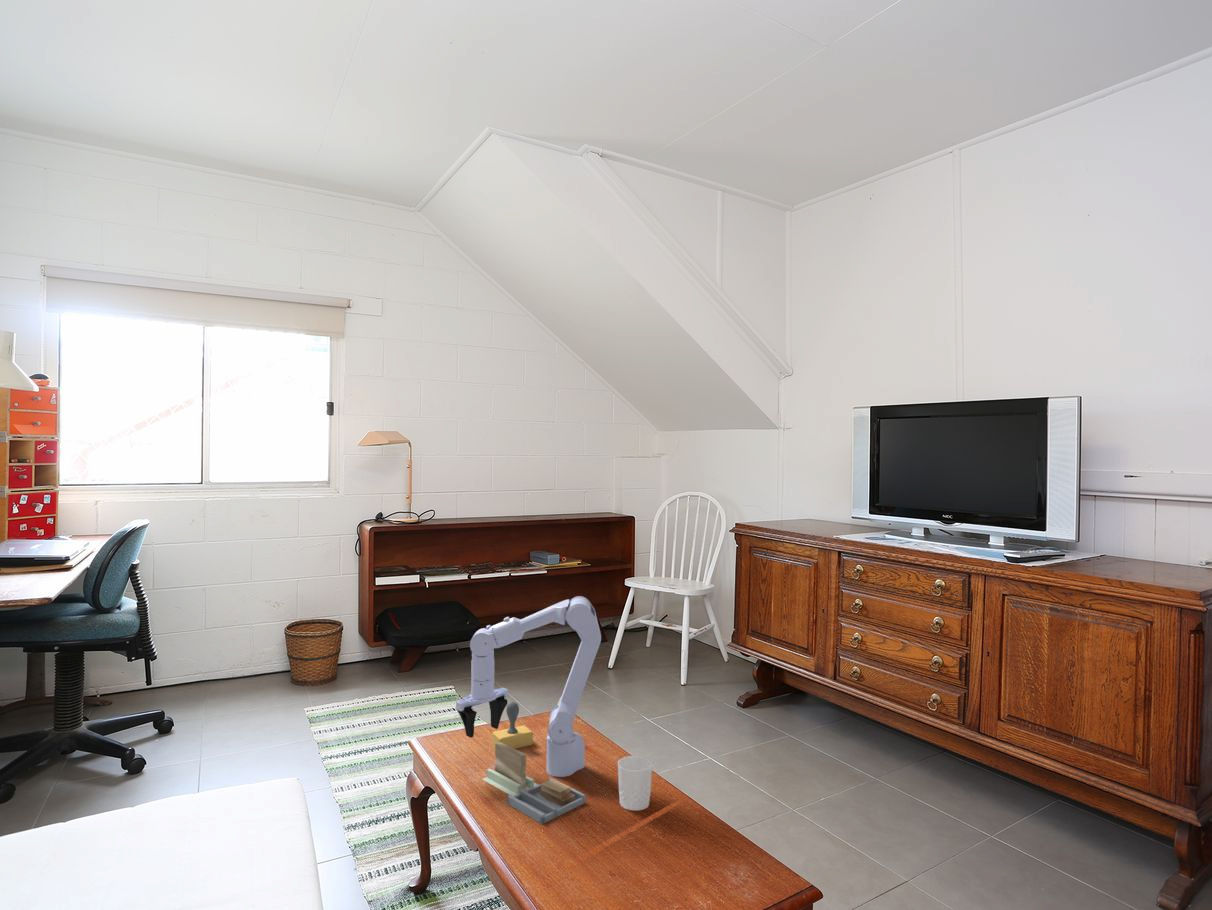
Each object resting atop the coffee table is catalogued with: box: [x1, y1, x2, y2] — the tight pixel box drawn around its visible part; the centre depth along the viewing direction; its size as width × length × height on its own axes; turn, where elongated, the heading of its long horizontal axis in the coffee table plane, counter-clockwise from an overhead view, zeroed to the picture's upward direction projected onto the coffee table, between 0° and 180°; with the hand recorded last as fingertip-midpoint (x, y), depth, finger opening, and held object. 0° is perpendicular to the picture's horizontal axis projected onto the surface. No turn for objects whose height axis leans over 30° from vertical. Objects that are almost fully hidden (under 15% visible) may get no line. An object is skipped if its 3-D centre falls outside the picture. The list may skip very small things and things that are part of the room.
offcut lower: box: [540, 789, 575, 807], centre depth 165 cm, size 4×8×1 cm, turn 46°
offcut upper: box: [540, 779, 571, 798], centre depth 165 cm, size 3×6×1 cm, turn 52°
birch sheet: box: [494, 742, 527, 790], centre depth 172 cm, size 2×10×8 cm, turn 46°
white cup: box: [617, 755, 653, 811], centre depth 163 cm, size 8×8×10 cm
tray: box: [507, 777, 586, 825], centre depth 162 cm, size 13×12×3 cm
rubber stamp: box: [491, 701, 534, 750], centre depth 196 cm, size 10×6×12 cm, turn 121°
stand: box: [481, 768, 539, 796], centre depth 172 cm, size 8×12×3 cm, turn 46°
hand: (482, 731), depth 179 cm, fingers open, 7 cm apart
